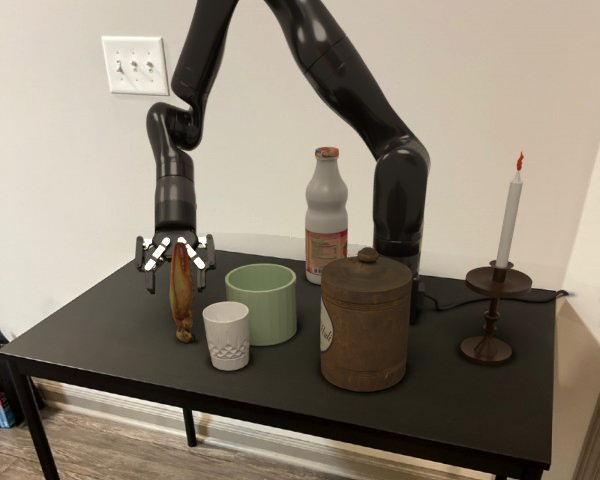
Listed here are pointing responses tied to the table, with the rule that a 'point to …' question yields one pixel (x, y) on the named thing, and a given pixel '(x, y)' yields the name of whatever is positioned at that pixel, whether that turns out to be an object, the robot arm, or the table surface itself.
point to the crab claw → (181, 292)
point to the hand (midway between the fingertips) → (176, 292)
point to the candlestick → (497, 286)
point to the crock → (265, 301)
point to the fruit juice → (325, 215)
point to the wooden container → (364, 321)
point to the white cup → (227, 334)
